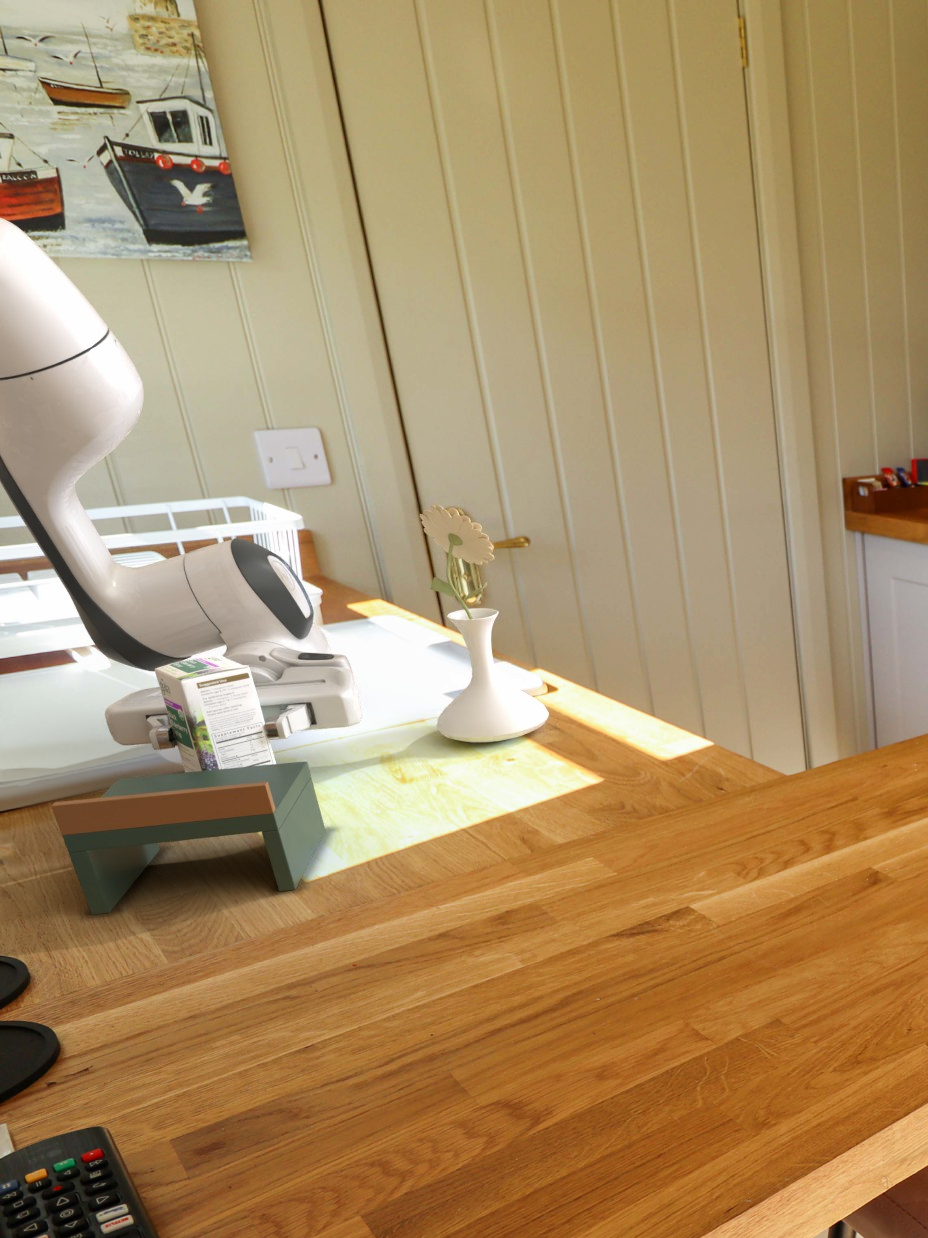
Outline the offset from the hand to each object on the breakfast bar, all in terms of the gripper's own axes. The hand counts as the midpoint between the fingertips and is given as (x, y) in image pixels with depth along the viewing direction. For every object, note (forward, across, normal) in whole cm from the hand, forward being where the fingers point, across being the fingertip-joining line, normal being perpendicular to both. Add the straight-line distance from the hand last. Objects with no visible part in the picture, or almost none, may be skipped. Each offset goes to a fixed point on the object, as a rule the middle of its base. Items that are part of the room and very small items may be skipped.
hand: (219, 736), depth 106 cm
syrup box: (-1, 0, +8) cm, 8 cm away
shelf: (+12, +1, +8) cm, 15 cm away
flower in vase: (-18, +20, +8) cm, 28 cm away
